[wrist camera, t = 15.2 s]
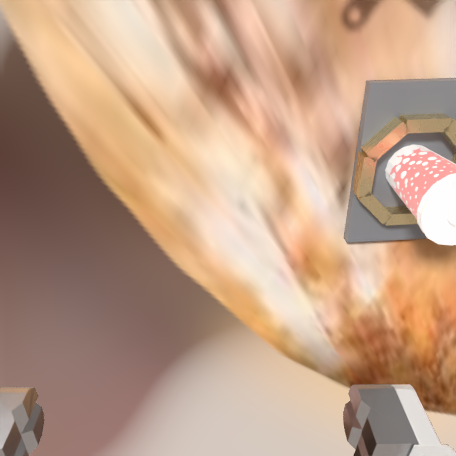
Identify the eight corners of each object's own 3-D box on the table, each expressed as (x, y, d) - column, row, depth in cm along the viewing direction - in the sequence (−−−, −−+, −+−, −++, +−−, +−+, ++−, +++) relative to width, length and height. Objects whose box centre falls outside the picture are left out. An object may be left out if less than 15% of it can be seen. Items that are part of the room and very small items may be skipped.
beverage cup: (365, 186, 40) (437, 272, 28) (398, 127, 37) (494, 194, 25) (418, 204, 42) (509, 292, 29) (454, 148, 39) (570, 220, 27)
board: (366, 80, 36) (370, 83, 35) (477, 77, 37) (484, 79, 36) (343, 237, 44) (346, 242, 43) (435, 233, 45) (440, 237, 44)
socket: (363, 116, 37) (369, 121, 35) (477, 112, 37) (488, 116, 36) (348, 219, 42) (353, 226, 41) (448, 214, 42) (457, 222, 41)
